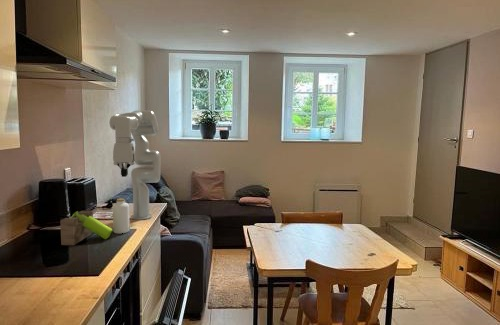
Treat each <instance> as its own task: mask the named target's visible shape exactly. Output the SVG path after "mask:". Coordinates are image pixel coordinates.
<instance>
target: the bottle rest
mask: <svg viewBox="0 0 500 325" xmlns="http://www.w3.org/2000/svg"><path fill="white" fill-rule="evenodd" d="M93 212H94V211H93V210H81V211H78V214H80V215H82V214H83V215H85V216H87V217H89V216H92V217H93V218H94V216H93V215H94V213H93ZM59 223H60V243H61V246H75V245H76V244H78V243H80V242H82V241H83V240H84V239H86V238H88V237H90V236H91V235H92V234H94V232H92V231H91V230H89V229H87V228H86V227H84V226H83V222H81V221H79V218H78V217H73V218H71V217H64V218H62V219H61V220H60V222H59Z"/></svg>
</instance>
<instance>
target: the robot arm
mask: <svg viewBox="0 0 500 325" xmlns="http://www.w3.org/2000/svg"><path fill="white" fill-rule="evenodd" d="M109 127H110V128H111V129H112V130H114V132H115V134H114V135H115V143H114V144H113V151H112V161H113V166H117V167H118V168H119V169H120V175H121V178H122V177H128V175H129V174H128V172H129V168H130V167H131V166H135V165H137V166H138V167H135V168H133V169H132V170H131V172H130V178H131V182H132V202H133V203H132V204H133V206H132V207H133V209H132V210H133V213H132V215H131V216H130V218H131V219H132V220H138V221H140V220H141V221H143V220H149V219H151V218H152V214H151V213H150V189H149V187H148V186H147V183H148V184H150V183H152V184H153V183H155V184H156V183H159V182H160V180H161V166H162V163H161V162H162V155H161V152H159V151H158V150H150V142H149V140H148V139H147V137H145V136H157V135H158V134H159V133H160V132H159V131H160V127H159V123H158V120H157V116H156V114H155V112H154V111H153V110H140V109H139V110H133V111H131V112H124V113H118V114H113V115H111V117H110V118H109ZM132 142H134V143H132ZM139 166H140V167H139ZM142 166H143V167H142ZM145 166H146V167H145ZM149 166H152V167H149Z"/></svg>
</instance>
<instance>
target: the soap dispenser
mask: <svg viewBox="0 0 500 325" xmlns="http://www.w3.org/2000/svg"><path fill="white" fill-rule="evenodd" d="M78 212H79V211H78V210H77V211H75V212H74V213H72V216H70V218H77V217H78V218H79V221H81V222H83V226H84V227H86V228H87V229H89V230H91V231H92V232H93V234H96V235H97V236H99V237H100V238H102V239H104V240H107V239H109V237H110V236H111V234H112V232H113V228H111V227H110V226H109V225H106V224H105V223H103V222H101V221H100V220H98V219H96V217H94V216H93V217H92V216H89V217H87V216H85V215H83V214H82V215H80V214H78Z"/></svg>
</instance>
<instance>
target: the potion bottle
mask: <svg viewBox="0 0 500 325" xmlns="http://www.w3.org/2000/svg"><path fill="white" fill-rule="evenodd" d="M112 226H113V227H112V229H113V231H112V232H113V233H114V234H117V235H118V234H119V235H121V234H122V233H123V234H126V233H129V231H130V205H129V203H127V202H126V199H125V198H117V199H116V202H115V203H114V204H113V205H112Z"/></svg>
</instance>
